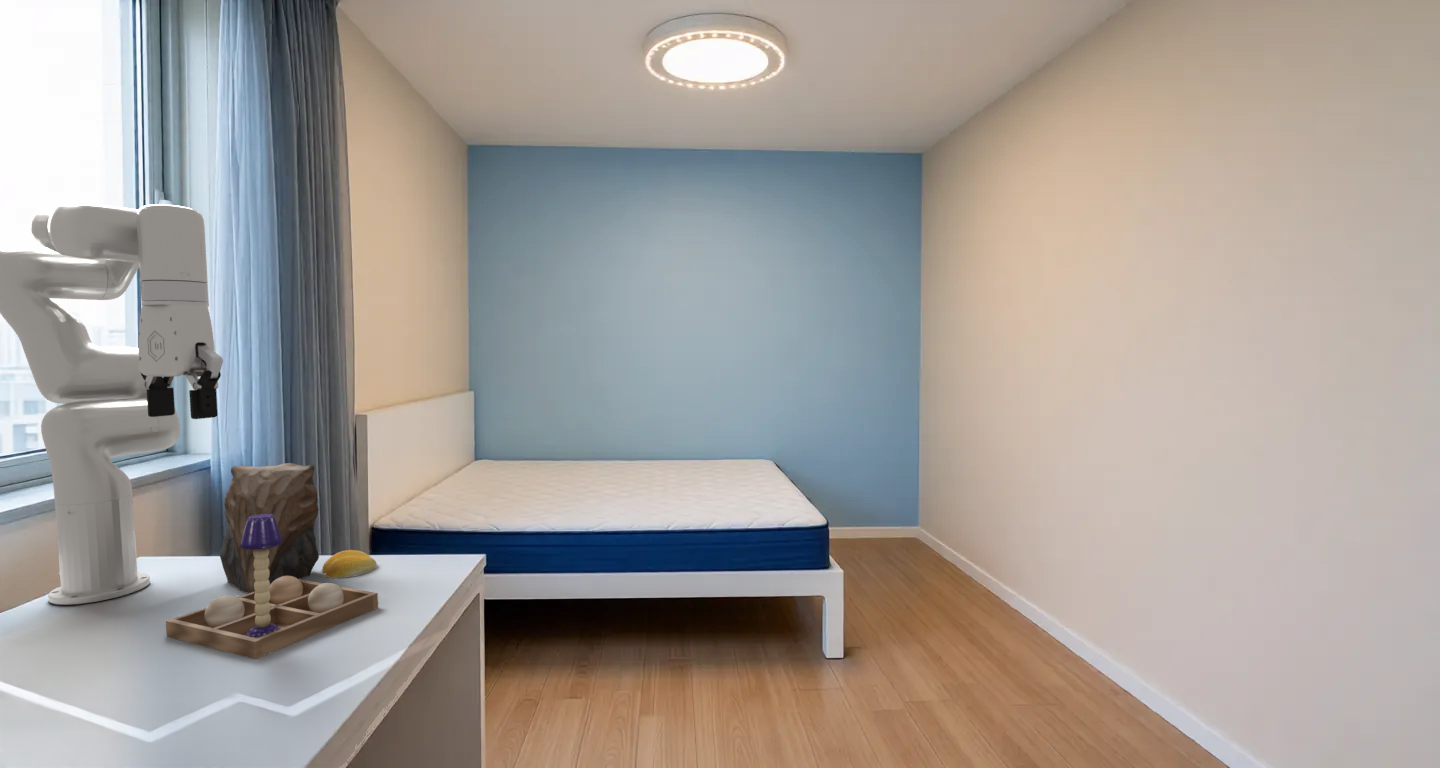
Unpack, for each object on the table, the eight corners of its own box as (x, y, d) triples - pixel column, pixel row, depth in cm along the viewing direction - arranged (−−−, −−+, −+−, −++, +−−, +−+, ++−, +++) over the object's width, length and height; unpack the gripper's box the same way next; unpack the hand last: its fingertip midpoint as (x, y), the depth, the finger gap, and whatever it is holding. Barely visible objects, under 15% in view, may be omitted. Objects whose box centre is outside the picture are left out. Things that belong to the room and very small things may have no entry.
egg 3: (301, 618, 102) (299, 586, 102) (329, 606, 106) (328, 576, 106) (323, 622, 100) (321, 590, 100) (351, 611, 104) (350, 580, 104)
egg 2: (261, 609, 105) (259, 579, 105) (290, 599, 110) (288, 570, 109) (281, 614, 104) (280, 583, 103) (310, 603, 108) (309, 573, 107)
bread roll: (330, 586, 118) (328, 563, 118) (319, 574, 125) (318, 551, 125) (383, 575, 123) (381, 553, 123) (370, 563, 130) (368, 542, 130)
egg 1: (197, 632, 97) (195, 599, 97) (232, 620, 101) (230, 588, 101) (219, 637, 95) (217, 604, 95) (253, 624, 100) (251, 592, 99)
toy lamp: (258, 631, 97) (251, 512, 96) (293, 629, 98) (287, 511, 97) (237, 646, 93) (230, 521, 92) (274, 644, 93) (268, 519, 92)
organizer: (167, 642, 96) (165, 620, 96) (294, 596, 113) (293, 578, 113) (256, 665, 89) (254, 641, 89) (378, 612, 106) (377, 593, 105)
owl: (218, 584, 119) (211, 467, 118) (299, 565, 129) (293, 457, 128) (247, 600, 112) (240, 475, 110) (331, 578, 122) (325, 463, 120)
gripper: (108, 296, 99) (116, 417, 100) (184, 291, 92) (192, 422, 93) (167, 299, 106) (174, 412, 107) (242, 295, 99) (249, 416, 100)
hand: (182, 416), depth 100 cm, fingers open, 9 cm apart
